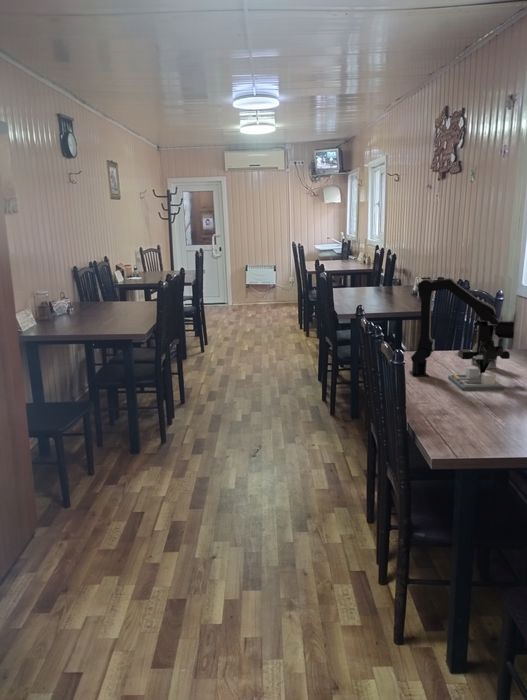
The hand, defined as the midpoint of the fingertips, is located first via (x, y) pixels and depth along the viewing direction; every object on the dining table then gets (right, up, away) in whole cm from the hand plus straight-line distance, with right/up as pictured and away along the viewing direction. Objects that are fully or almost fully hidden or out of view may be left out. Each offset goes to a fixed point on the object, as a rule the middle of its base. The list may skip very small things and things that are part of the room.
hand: (481, 374), depth 225 cm
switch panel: (-4, -3, -4) cm, 7 cm away
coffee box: (+9, +3, +23) cm, 25 cm away
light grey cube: (-4, -1, 0) cm, 4 cm away
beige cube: (-1, -3, -9) cm, 9 cm away
